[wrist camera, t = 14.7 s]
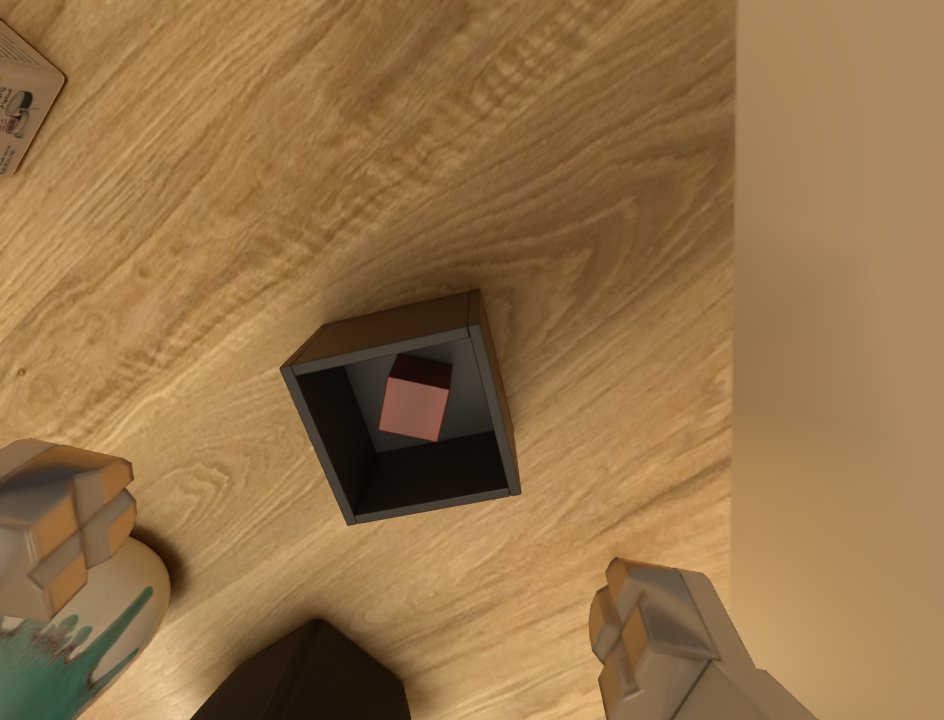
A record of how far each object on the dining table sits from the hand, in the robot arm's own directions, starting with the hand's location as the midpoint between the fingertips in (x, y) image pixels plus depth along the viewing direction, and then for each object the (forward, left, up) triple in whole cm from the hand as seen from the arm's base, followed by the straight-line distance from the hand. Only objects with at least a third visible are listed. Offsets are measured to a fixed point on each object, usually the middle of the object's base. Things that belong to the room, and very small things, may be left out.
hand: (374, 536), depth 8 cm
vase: (+35, +19, -25) cm, 47 cm away
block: (+4, +8, -24) cm, 26 cm away
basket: (+4, +8, -25) cm, 26 cm away
